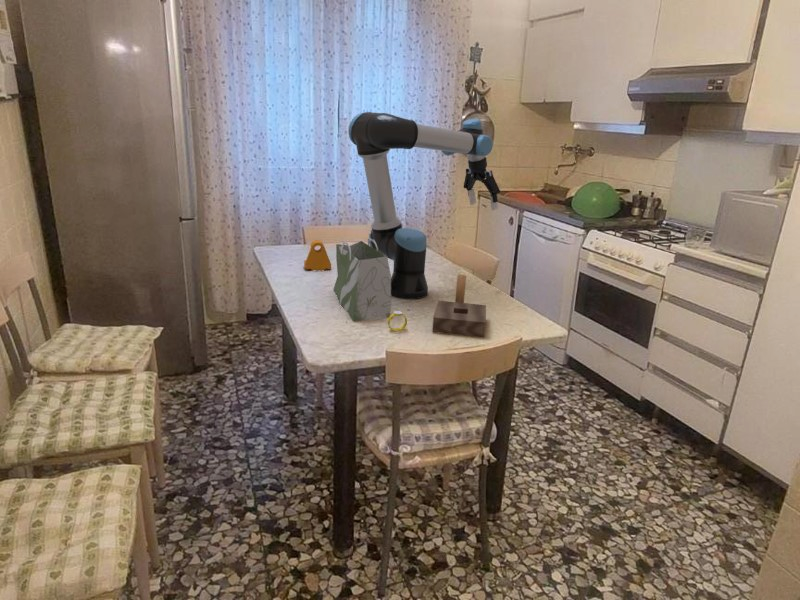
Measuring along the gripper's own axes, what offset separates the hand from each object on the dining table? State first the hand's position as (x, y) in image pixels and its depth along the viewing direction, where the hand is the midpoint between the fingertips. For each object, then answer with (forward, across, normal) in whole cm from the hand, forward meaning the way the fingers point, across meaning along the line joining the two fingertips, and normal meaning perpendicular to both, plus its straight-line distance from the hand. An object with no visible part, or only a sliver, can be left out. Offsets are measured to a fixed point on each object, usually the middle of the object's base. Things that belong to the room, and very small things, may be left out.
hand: (483, 206), depth 227 cm
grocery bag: (+4, -16, +76) cm, 78 cm away
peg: (+13, -36, +48) cm, 62 cm away
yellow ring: (+4, -42, +77) cm, 88 cm away
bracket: (+7, +30, +70) cm, 76 cm away
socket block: (+10, -49, +58) cm, 76 cm away
